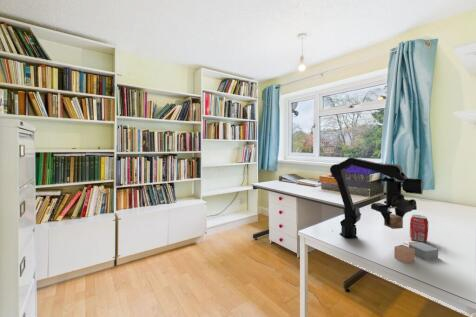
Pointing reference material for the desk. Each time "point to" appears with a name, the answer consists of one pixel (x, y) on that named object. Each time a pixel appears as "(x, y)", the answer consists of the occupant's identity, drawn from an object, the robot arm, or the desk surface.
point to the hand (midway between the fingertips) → (393, 224)
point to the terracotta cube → (404, 253)
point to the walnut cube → (395, 222)
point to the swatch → (411, 242)
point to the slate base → (424, 251)
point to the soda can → (419, 228)
